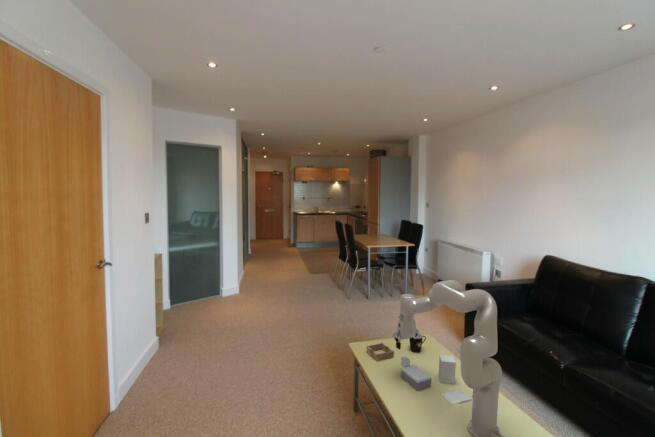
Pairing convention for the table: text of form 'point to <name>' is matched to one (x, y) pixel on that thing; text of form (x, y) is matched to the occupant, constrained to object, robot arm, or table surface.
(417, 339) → the coffee mug
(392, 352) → the frame
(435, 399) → the table surface
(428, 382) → the tub
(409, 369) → the lid
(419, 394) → the table surface
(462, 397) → the hard drive
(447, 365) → the supplement box
